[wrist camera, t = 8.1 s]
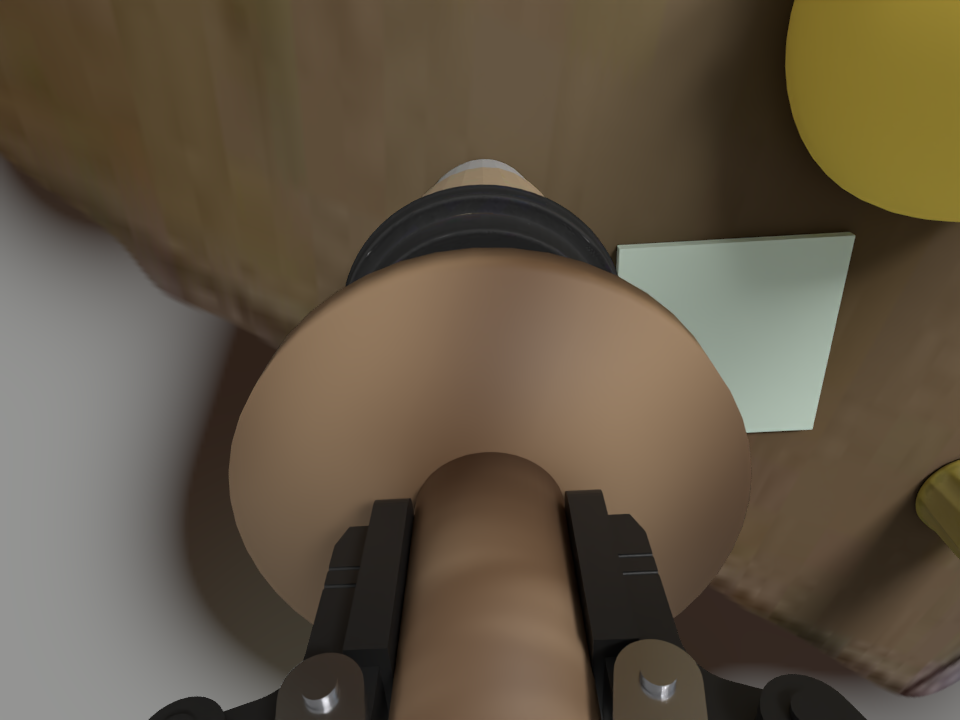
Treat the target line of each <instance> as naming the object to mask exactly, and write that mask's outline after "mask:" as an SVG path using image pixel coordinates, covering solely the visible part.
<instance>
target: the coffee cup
mask: <svg viewBox="0 0 960 720" xmlns="http://www.w3.org/2000/svg"><path fill="white" fill-rule="evenodd" d="M468 248H516V249H524V250H531V251H539V252H546V253H551V254H555V255H559V256H563V257H567V258H570V259H574V260H578V261H582V262H585V263H588V264H590V265H592V266H595V267H597V268H600V269H602V270H605V271H607V272H609V273H612V274H614V275H617V276H618V274H617V271H616V268H615V266H614V264H613V262H612V259H611V257H610V256H609V254H608V252H607V250H606V249H605V247H604V246H603V244H602V243H601V241H600V240H599V239H598V237H597V236H596V235H595V234H594V233H593V232H592V230H591V229H590V228H589V227H588V226H587V225H586V224H585V223H584V222H582V221H581V220H580V219H579V218H578V217H577V216H575V215H574V214H573V213H572V212H570V211H569V210H567V209H566V208H564V207H562V206H561V205H559V204H557V203H556V202H554V201H552V200H550V199H548V198H546V197H544V196H543V195H542V194H541V192H540V191H539V190H537V189H536V188H535V187H534V186H533V185H532V184H531V183H530V182H528V181H527V180H525V178H524V177H523V176H522V175H520V174H519V173H518V172H517V171H516V170H515V169H513V168H512V167H510V166H508V165H506V164H505V163H502V162H499V161H496V160H489V159H480V160H474V161H469V162H467V163H464V164H461V165H459V166H457V167H456V168H454V169H452V170H451V171H449V172H448V173H447V174H445V175H444V176H443V177H442V178H441V179H440V180H439V181H438V182H437V183H436V185H434V186H433V187H432V188H431V189H430V190H429V191H427V192H426V193H425V194H424V195H423V196H422V197H421V198H419V199H417V200H415V201H413V202H411V203H410V204H408V205H406V206H405V207H403V208H401V209H400V210H398V211H397V212H396V213H394V214H393V215H391V216H390V217H389V218H388V219H387V220H386V221H384V222H383V223H382V224H381V225H380V226H379V227H378V228H377V229H376V230H375V231H374V232H373V233H372V235H371V236H370V237H369V238H368V240H367V241H366V242H365V244H364V245H363V247H362V248H361V250H360V252H359V253H358V255H357V257H356V259H355V261H354V263H353V265H352V267H351V270H350V273H349V275H348V278H347V282H346V286H348V285H350V284H351V283H353V282H355V281H357V280H358V279H360V278H362V277H364V276H366V275H368V274H370V273H373V272H375V271H378V270H380V269H383V268H385V267H388V266H390V265H393V264H395V263H398V262H400V261H404V260H408V259H412V258H416V257H420V256H424V255H428V254H432V253H436V252H443V251H451V250H460V249H468ZM346 286H345V287H346Z"/></svg>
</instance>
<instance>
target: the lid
mask: <svg viewBox="0 0 960 720" xmlns="http://www.w3.org/2000/svg"><path fill="white" fill-rule="evenodd" d="M751 479H752V467H751V454H750V445H749V441H748V437H747V433H746V429H745V425H744V421H743V418H742V416H741V413H740V411H739V409H738V407H737V405H736V402H735V400H734V398H733V396H732V394H731V391H730V390H729V388H728V387H727V385H726V384H725V382H724V381H723V379H722V377H721V376H720V374H719V373H718V371H717V370H716V368H715V367H714V365H713V364H712V362H711V361H710V359H709V358H708V356H707V355H706V353H705V352H704V350H703V349H702V347H701V346H700V344H699V343H698V341H697V340H696V338H695V337H694V336H693V335H692V333H691V332H690V331H689V330H688V329H687V328H686V327H685V326H684V325H683V324H682V323H681V322H680V321H679V319H678V318H677V317H676V316H675V315H674V314H673V313H672V312H670V311H669V310H668V309H667V308H665V307H664V306H663V305H662V304H660V303H659V302H658V301H657V300H655V299H654V298H653V297H651V296H650V295H649V294H648V293H646V292H644V291H643V290H641V289H639V288H638V287H636V286H634V285H632V284H631V283H629V282H627V281H626V280H624V279H622V278H620V277H619V276H617V275H614V274H612V273H609V272H607V271H605V270H602V269H600V268H597V267H595V266H592V265H590V264H588V263H585V262H582V261H578V260H574V259H570V258H567V257H563V256H559V255H555V254H551V253H546V252H539V251H531V250H524V249H516V248H468V249H460V250H451V251H443V252H436V253H432V254H428V255H424V256H420V257H416V258H412V259H408V260H404V261H400V262H398V263H395V264H393V265H390V266H388V267H385V268H383V269H380V270H378V271H375V272H373V273H370V274H368V275H366V276H364V277H362V278H360V279H358V280H357V281H355V282H353V283H351V284H350V285H348V286H346V287H344V288H342V289H341V290H339V291H337V292H336V293H334V294H333V295H332V296H330V297H329V298H328V299H327V300H325V301H324V302H323V303H321V304H320V305H319V306H317V307H316V308H315V309H313V310H312V311H311V312H310V313H309V314H308V315H307V316H306V317H305V318H304V319H303V320H302V321H301V322H300V323H299V324H298V325H297V326H296V327H295V328H294V329H293V330H292V331H291V332H290V333H289V334H288V336H287V337H286V338H285V340H284V341H283V343H282V344H281V345H280V347H279V348H278V350H277V351H276V353H275V354H274V355H273V357H272V358H271V360H270V361H269V363H268V365H267V366H266V368H265V370H264V372H263V373H262V375H261V377H260V378H259V380H258V382H257V384H256V385H255V387H254V389H253V390H252V393H251V394H250V397H249V399H248V401H247V403H246V405H245V407H244V409H243V411H242V413H241V415H240V417H239V421H238V424H237V428H236V431H235V435H234V438H233V441H232V446H231V455H230V464H229V486H230V500H231V504H232V509H233V512H234V517H235V521H236V525H237V528H238V530H239V532H240V535H241V538H242V540H243V543H244V545H245V547H246V549H247V551H248V553H249V555H250V556H251V558H252V559H253V561H254V563H255V565H256V567H257V568H258V570H259V572H260V573H261V574H262V575H263V576H264V578H265V579H266V580H267V582H268V583H269V584H270V585H271V587H272V588H273V589H274V591H275V592H276V593H277V594H278V595H279V596H280V597H281V598H282V599H283V600H284V601H285V602H286V603H287V604H288V605H289V606H290V607H292V608H293V609H294V610H295V611H296V612H297V613H298V614H300V615H301V616H302V617H304V618H305V619H306V620H307V621H309V622H310V623H311V624H314V620H315V617H316V613H317V609H318V605H319V602H320V598H321V594H322V590H323V589H324V583H325V579H326V575H327V572H328V571H329V564H330V560H331V557H332V553H333V549H334V546H335V544H336V543H337V542H338V541H339V539H340V538H341V537H342V536H343V534H344V533H345V532H346V531H347V529H348V528H349V527H354V526H369V522H370V517H371V512H372V508H373V503H374V501H375V500H383V499H403V498H411V500H412V505H413V511H414V521H413V529H412V537H411V545H410V553H409V561H408V569H407V577H406V584H405V592H404V600H403V608H402V616H401V624H400V632H399V640H398V648H397V656H396V663H395V671H394V679H393V687H392V694H391V702H390V710H389V718H388V720H602V718H601V713H600V707H599V701H598V695H597V689H596V683H595V679H594V675H593V672H592V667H591V661H590V655H589V649H588V643H587V637H586V631H585V625H584V619H583V614H582V608H581V602H580V596H579V590H578V584H577V578H576V572H575V566H574V560H573V555H572V549H571V543H570V537H569V531H568V525H567V519H566V513H565V491H573V490H594V489H601V490H602V493H603V496H604V500H605V504H606V508H607V512H608V515H612V514H630V515H631V516H632V517H633V518H634V519H635V520H636V521H637V522H638V524H639V525H640V526H641V527H642V528H643V529H644V530H645V531H646V534H647V537H648V540H649V543H650V546H651V550H652V554H653V557H654V559H655V562H656V565H657V569H658V574H659V575H660V578H661V581H662V584H663V588H664V591H665V594H666V597H667V600H668V603H669V607H670V610H671V613H672V616H673V618H674V617H675V616H677V615H678V614H679V613H681V612H682V611H683V610H684V609H685V608H686V607H687V606H688V605H689V604H690V603H691V602H692V601H694V600H695V599H696V598H697V597H698V596H699V595H700V594H701V593H702V592H703V590H704V589H705V588H706V587H707V586H708V584H709V583H710V582H711V581H712V580H713V578H714V577H715V576H716V575H717V574H718V572H719V571H720V569H721V567H722V566H723V564H724V563H725V561H726V559H727V558H728V556H729V554H730V553H731V551H732V549H733V547H734V545H735V543H736V540H737V538H738V536H739V533H740V531H741V529H742V527H743V523H744V519H745V516H746V512H747V508H748V504H749V500H750V490H751Z"/></svg>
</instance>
